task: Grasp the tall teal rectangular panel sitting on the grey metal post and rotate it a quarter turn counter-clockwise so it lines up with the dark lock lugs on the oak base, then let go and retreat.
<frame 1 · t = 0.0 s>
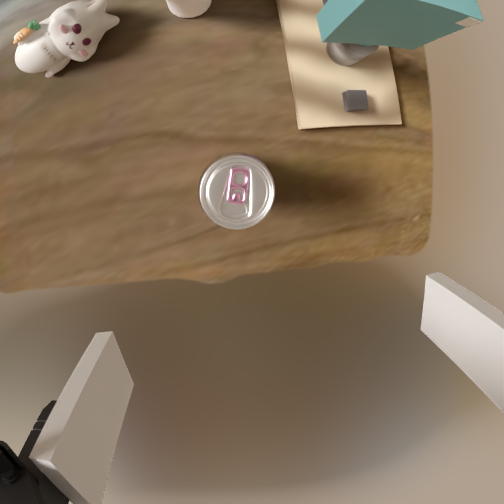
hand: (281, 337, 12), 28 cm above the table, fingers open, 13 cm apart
post base: (338, 54, 34), on the table
teal rectangular panel: (391, 14, 20), point 14 cm above the table, hinge at 0.0°
cup: (188, 0, 30), on the table
cat figurine: (74, 44, 30), on the table
beverage can: (230, 179, 38), on the table
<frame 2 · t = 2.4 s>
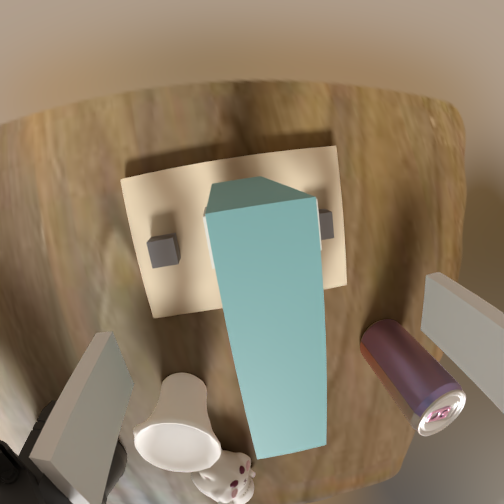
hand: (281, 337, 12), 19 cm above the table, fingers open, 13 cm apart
post base: (239, 230, 31), on the table
teal rectangular panel: (258, 290, 17), point 14 cm above the table, hinge at 0.0°
cup: (181, 388, 35), on the table
cat figurine: (223, 459, 40), on the table
beverage can: (378, 336, 36), on the table
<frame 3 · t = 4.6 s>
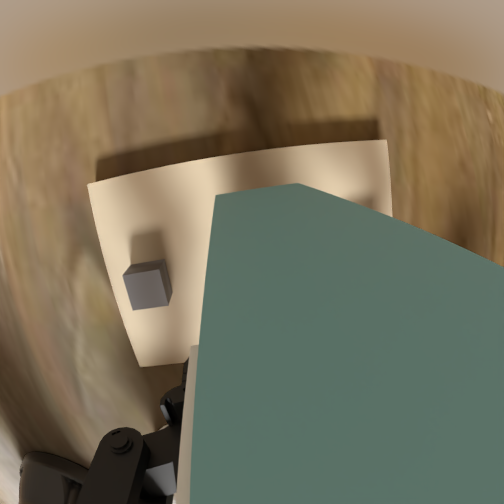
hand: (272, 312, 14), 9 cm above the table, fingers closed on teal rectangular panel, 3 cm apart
post base: (253, 254, 22), on the table
teal rectangular panel: (303, 401, 8), point 14 cm above the table, hinge at 0.0°, touching gripper
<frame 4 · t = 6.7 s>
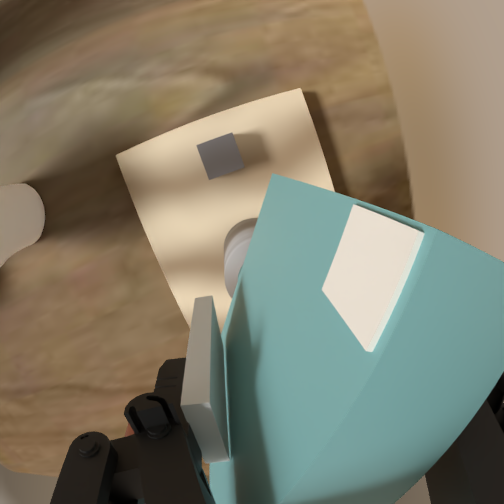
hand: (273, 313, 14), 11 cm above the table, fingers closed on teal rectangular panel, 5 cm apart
post base: (252, 242, 25), on the table
teal rectangular panel: (288, 346, 11), point 14 cm above the table, hinge at 53.5°, touching gripper
cup: (21, 210, 22), on the table
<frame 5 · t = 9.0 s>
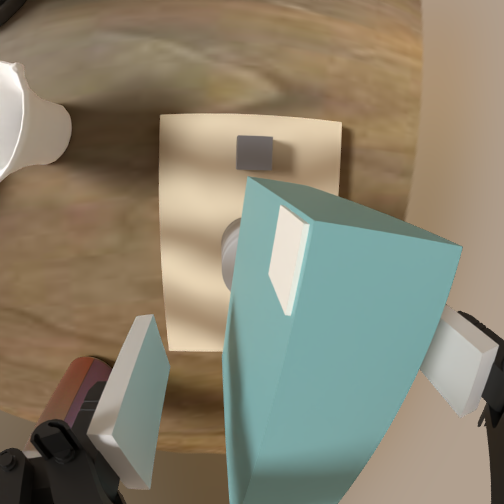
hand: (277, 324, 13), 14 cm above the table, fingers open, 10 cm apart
post base: (247, 238, 26), on the table
teal rectangular panel: (277, 327, 13), point 14 cm above the table, hinge at 83.2°
cup: (47, 129, 22), on the table
beverage can: (96, 374, 29), on the table
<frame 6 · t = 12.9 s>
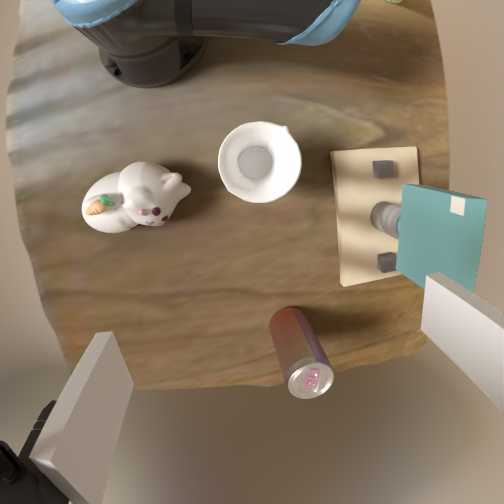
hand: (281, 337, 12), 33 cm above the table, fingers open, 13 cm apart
post base: (378, 214, 45), on the table
teal rectangular panel: (433, 237, 32), point 14 cm above the table, hinge at 83.3°
cup: (252, 160, 42), on the table
cat figurine: (139, 194, 42), on the table
beverage can: (287, 321, 49), on the table
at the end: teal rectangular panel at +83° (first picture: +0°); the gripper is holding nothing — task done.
